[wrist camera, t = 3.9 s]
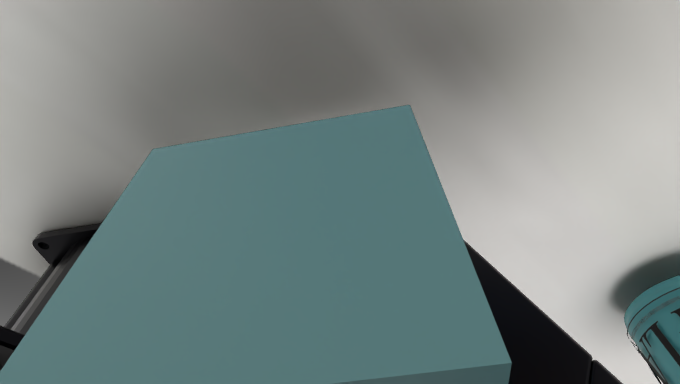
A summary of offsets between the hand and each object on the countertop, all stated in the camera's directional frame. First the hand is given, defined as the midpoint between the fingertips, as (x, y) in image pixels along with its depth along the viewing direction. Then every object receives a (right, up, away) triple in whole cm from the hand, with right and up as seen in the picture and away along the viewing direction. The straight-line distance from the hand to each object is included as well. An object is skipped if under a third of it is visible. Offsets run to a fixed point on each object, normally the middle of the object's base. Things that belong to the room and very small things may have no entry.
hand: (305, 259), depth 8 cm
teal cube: (0, +1, +1) cm, 1 cm away
